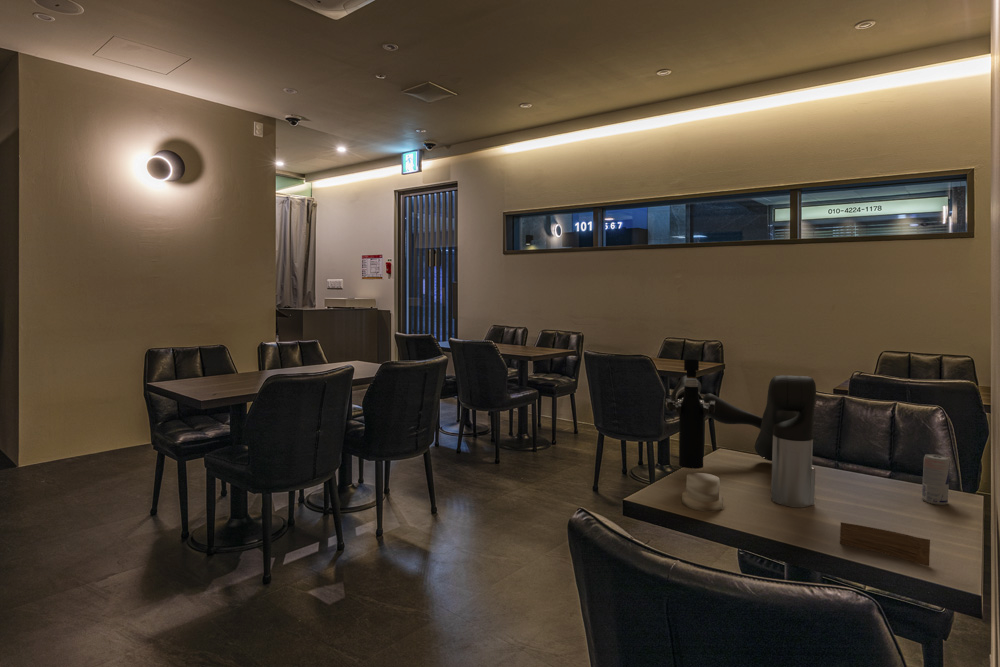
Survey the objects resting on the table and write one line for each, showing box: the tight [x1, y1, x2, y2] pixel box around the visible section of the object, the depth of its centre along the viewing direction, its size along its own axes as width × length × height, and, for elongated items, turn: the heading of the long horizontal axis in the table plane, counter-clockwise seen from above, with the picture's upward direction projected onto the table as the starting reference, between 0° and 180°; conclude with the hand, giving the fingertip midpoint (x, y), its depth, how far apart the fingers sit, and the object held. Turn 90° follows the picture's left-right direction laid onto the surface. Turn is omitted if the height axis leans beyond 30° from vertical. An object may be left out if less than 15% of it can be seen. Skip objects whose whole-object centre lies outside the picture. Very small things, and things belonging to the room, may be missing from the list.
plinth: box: [681, 472, 724, 512], centre depth 143 cm, size 10×10×7 cm
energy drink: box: [921, 453, 951, 506], centre depth 145 cm, size 5×5×12 cm
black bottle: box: [678, 358, 704, 470], centre depth 154 cm, size 6×6×30 cm
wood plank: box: [839, 521, 931, 567], centre depth 115 cm, size 15×2×5 cm, turn 53°
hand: (692, 410), depth 151 cm, fingers closed on black bottle, 6 cm apart
